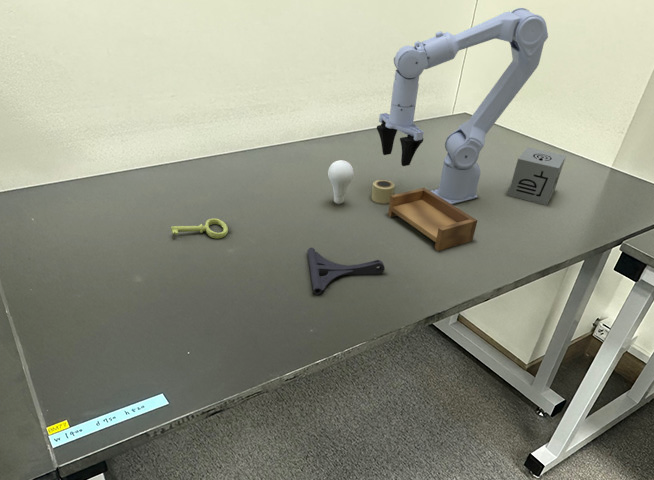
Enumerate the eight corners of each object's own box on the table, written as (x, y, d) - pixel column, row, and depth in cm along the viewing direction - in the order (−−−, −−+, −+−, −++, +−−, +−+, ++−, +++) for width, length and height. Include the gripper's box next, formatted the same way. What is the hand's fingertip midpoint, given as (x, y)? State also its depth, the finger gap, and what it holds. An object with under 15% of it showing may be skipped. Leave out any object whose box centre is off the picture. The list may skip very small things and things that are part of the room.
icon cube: (546, 205, 136) (559, 168, 130) (507, 195, 140) (518, 158, 134) (554, 191, 143) (566, 155, 137) (516, 182, 147) (526, 147, 141)
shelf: (420, 206, 132) (424, 187, 129) (472, 240, 120) (477, 220, 117) (387, 215, 128) (390, 195, 125) (437, 251, 115) (442, 230, 112)
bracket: (390, 293, 102) (392, 281, 100) (313, 295, 100) (313, 282, 99) (376, 254, 113) (378, 242, 112) (307, 254, 112) (307, 243, 110)
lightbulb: (348, 210, 129) (352, 167, 122) (324, 207, 130) (326, 164, 123) (352, 199, 133) (356, 157, 127) (328, 196, 134) (331, 154, 128)
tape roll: (384, 192, 138) (386, 177, 135) (396, 201, 134) (399, 186, 132) (367, 196, 135) (368, 181, 133) (379, 205, 132) (381, 190, 129)
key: (168, 235, 116) (167, 226, 114) (219, 221, 122) (219, 212, 120) (182, 249, 111) (181, 241, 110) (235, 234, 117) (234, 226, 116)
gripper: (371, 96, 127) (366, 152, 135) (409, 115, 117) (401, 173, 125) (394, 93, 130) (388, 147, 138) (434, 110, 120) (424, 168, 128)
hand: (396, 159), depth 132 cm, fingers open, 7 cm apart
